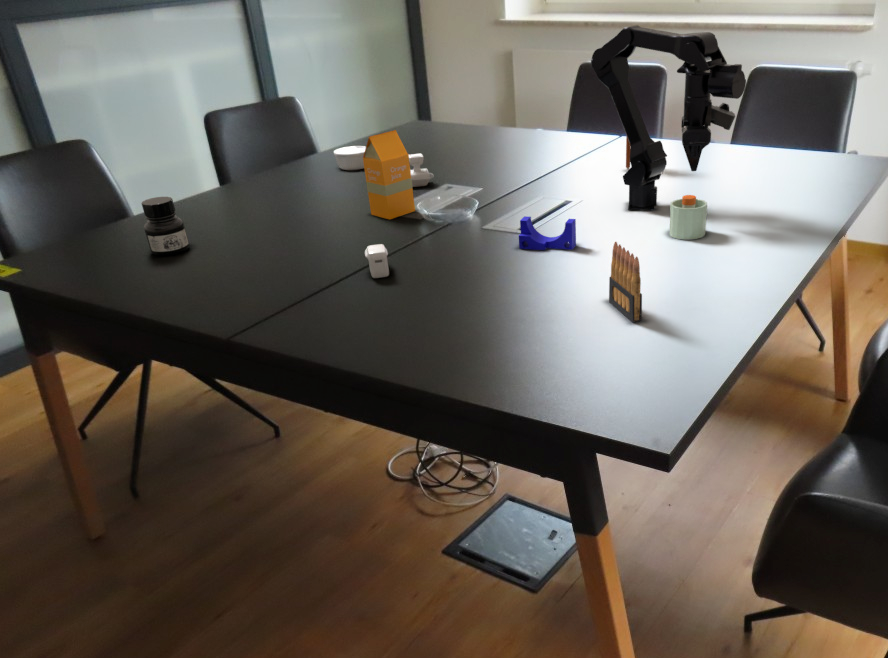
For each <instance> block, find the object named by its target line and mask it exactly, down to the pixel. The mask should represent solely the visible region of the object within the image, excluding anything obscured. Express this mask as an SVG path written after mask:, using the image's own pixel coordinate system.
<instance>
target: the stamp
mask: <svg viewBox="0 0 888 658" xmlns="http://www.w3.org/2000/svg"><path fill="white" fill-rule="evenodd" d="M408 155H409V163H410V166H412V167H413V169H410V172H411V178H412V186H413V188H418V187H426V186H428V184H429V182H430V180H432V179H434V177H435V175H434V173H432V172H430V171H429V170H428V168H427V167H425V168H421V166H422V165H424V155H423V154H422V153H411V154H408Z"/></svg>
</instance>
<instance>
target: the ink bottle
mask: <svg viewBox="0 0 888 658" xmlns="http://www.w3.org/2000/svg"><path fill="white" fill-rule="evenodd" d="M140 204H141V206H142V211H143V213H144V214H143V215H144V216H145V219H146V222H145V223H144V226H143V229H144V233H145V237H146V240H147V244H148V246H149V250H150V252H151V254H152V255H155V256H161V257H164V256H172V255H176V254H181V253H183V252H185V251H187V250H188V249H189V248H190V242H189V238H188V235H187V231H186V227H185V223H184V221H183V220H182V218H180V217H178V216H177V215H176V214H177V212H176V207H175V204H174V200H173V198H172V197H171V196H155V197H151V198H147V199H145V200H143V201H141V203H140Z"/></svg>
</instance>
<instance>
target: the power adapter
mask: <svg viewBox="0 0 888 658" xmlns="http://www.w3.org/2000/svg"><path fill="white" fill-rule="evenodd" d="M388 254H389V252H388V249H387V248H386V247H385V245H384V244H383V243H378V244H371V245H368V246H367V247H366V248H365V250H364V256H365V258H366V259H367V260H368V266H369V271H370V276H371V277H372V278H373V279H379V278H387V277H389V276H390V269H389V267H390V266H389V260H388Z"/></svg>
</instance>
